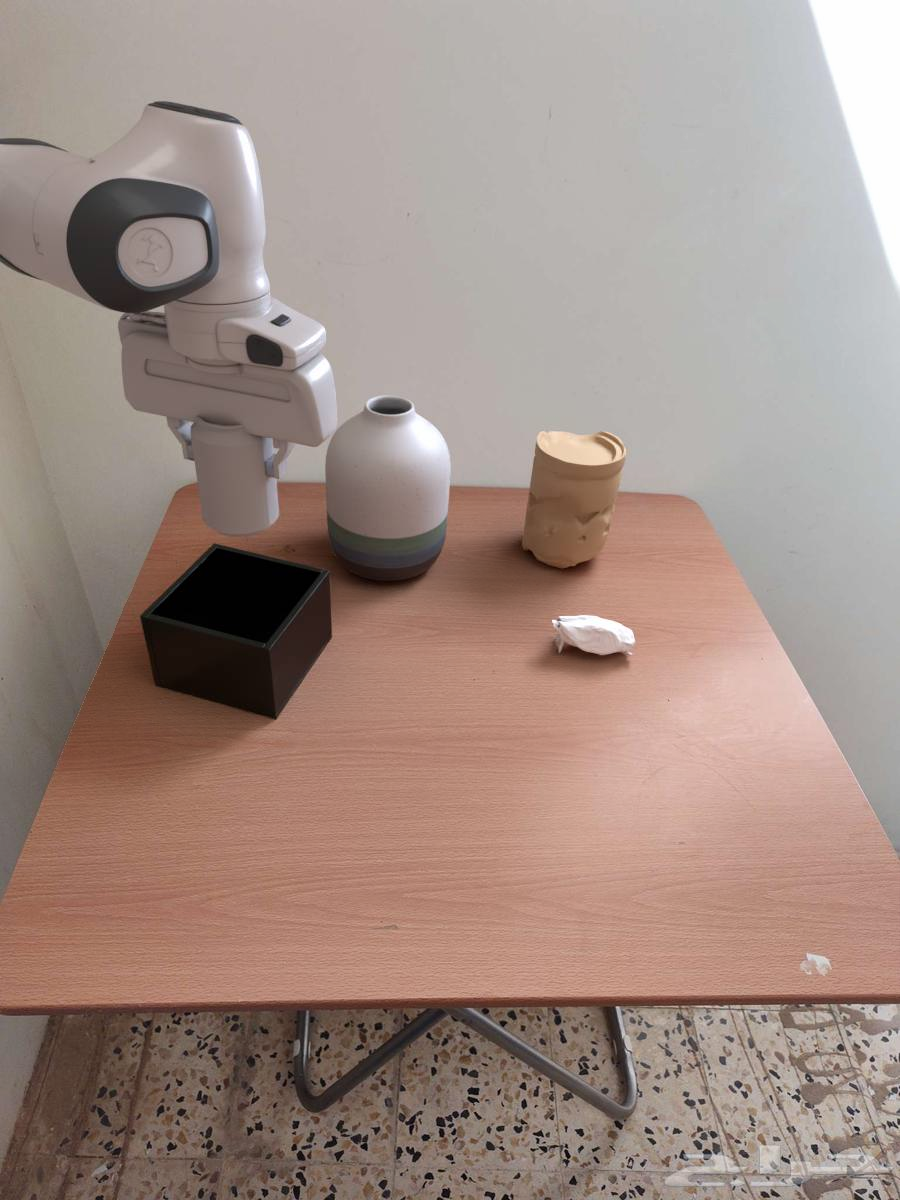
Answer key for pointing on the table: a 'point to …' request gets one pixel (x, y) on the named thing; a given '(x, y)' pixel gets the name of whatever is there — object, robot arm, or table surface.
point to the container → (572, 495)
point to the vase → (387, 491)
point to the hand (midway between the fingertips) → (236, 467)
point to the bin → (239, 629)
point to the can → (234, 479)
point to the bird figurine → (594, 634)
